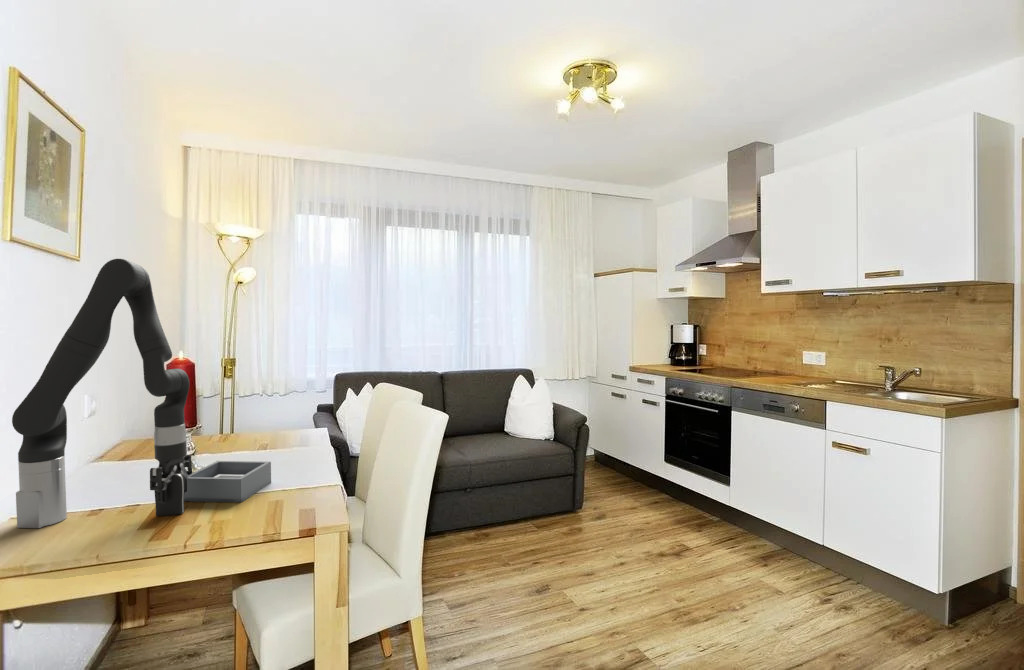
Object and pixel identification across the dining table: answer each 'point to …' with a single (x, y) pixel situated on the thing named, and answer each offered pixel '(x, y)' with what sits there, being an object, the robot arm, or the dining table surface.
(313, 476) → the dining table surface
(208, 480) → the walled box
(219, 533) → the dining table surface
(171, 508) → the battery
